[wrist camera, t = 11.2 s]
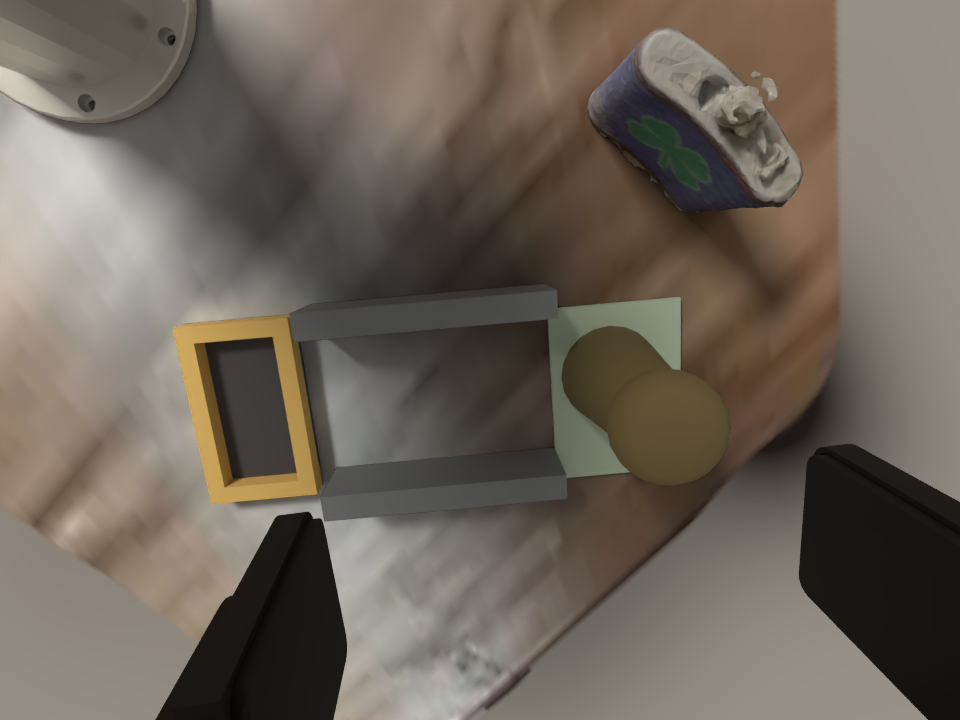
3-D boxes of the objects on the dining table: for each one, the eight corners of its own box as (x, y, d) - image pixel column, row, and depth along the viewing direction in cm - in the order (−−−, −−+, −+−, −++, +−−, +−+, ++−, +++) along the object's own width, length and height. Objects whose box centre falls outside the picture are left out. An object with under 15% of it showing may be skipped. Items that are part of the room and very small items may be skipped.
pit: (185, 323, 31) (172, 328, 30) (295, 313, 31) (287, 317, 30) (222, 492, 34) (211, 504, 32) (323, 483, 34) (317, 494, 33)
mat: (546, 308, 32) (547, 309, 31) (678, 296, 32) (680, 297, 32) (556, 476, 34) (557, 478, 34) (677, 464, 34) (680, 467, 34)
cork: (658, 416, 33) (752, 501, 23) (563, 424, 33) (611, 514, 22) (658, 321, 32) (757, 364, 21) (558, 330, 32) (607, 377, 21)
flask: (576, 112, 29) (639, 43, 19) (612, 68, 29) (698, -26, 19) (689, 224, 31) (805, 218, 21) (725, 185, 31) (862, 158, 20)
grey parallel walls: (310, 304, 31) (289, 313, 27) (545, 283, 32) (556, 290, 28) (340, 488, 34) (324, 521, 30) (555, 469, 34) (567, 498, 30)
